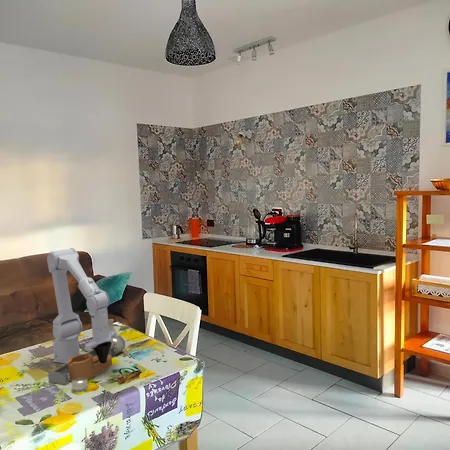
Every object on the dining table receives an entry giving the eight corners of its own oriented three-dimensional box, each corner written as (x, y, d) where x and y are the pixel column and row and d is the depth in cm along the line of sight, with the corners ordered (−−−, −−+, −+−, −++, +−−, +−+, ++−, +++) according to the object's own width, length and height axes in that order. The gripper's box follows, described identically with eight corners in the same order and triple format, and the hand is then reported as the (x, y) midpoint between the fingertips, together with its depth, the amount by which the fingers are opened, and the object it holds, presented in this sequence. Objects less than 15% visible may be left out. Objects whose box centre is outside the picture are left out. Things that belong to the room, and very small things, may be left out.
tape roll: (69, 391, 135) (68, 382, 135) (79, 384, 140) (79, 375, 139) (80, 393, 133) (79, 384, 133) (91, 386, 138) (90, 377, 137)
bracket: (82, 383, 140) (80, 364, 140) (64, 380, 144) (62, 361, 143) (116, 362, 156) (115, 345, 156) (99, 360, 160) (98, 343, 159)
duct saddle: (48, 382, 143) (47, 363, 142) (106, 349, 170) (105, 334, 170) (70, 386, 139) (68, 367, 138) (125, 352, 166) (124, 336, 166)
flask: (103, 340, 181) (102, 318, 180) (120, 338, 182) (118, 316, 182) (102, 346, 174) (100, 323, 173) (119, 344, 175) (117, 321, 175)
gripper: (95, 334, 139) (98, 372, 140) (121, 320, 152) (124, 356, 153) (79, 332, 142) (82, 369, 143) (106, 319, 155) (109, 353, 156)
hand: (103, 362), depth 148 cm, fingers closed
